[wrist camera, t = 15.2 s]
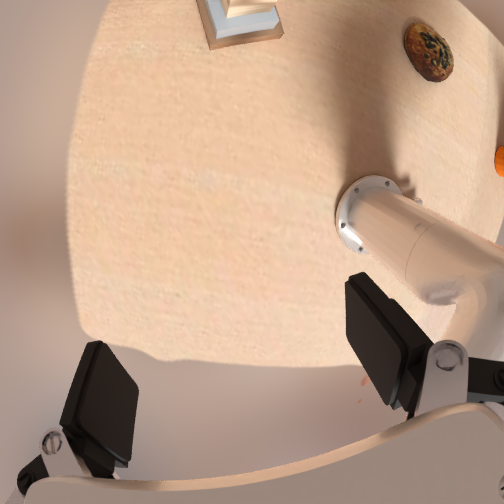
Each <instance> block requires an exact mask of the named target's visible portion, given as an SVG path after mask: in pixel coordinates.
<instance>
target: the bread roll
mask: <svg viewBox="0 0 504 504" xmlns="http://www.w3.org/2000/svg"><path fill="white" fill-rule="evenodd" d="M404 42H405V48H406V52H407V54H408V57H409V59H410V61H411V62H412V64H413V65H414V67H415V69H416V70H417V71H418V72H419V73H420V74H421V75H422V76H423V77H424V78H425V79H427V81H432V82H441V81H444V80H445V79H447V78H448V76H449V75H450V74H451V73H452V72H453V66H454V64H453V62H454V61H453V55H452V52H451V50H450V47H449V45H448V44H447V42H446V41H445V39H444V38H442V37H441V36H440V35H439V34H438V33H436V32H435V31H434V30H433V29H432V28H430V27H428V26H426V25H424V24H422V23H416V24H411V26H410V27H409V28H408V30H407V32H406V35H405V40H404Z"/></svg>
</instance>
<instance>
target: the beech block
mask: <svg viewBox="0 0 504 504" xmlns="http://www.w3.org/2000/svg"><path fill="white" fill-rule="evenodd" d="M220 1H221V4H222V7H223V10H224V13H225V16H226V18H231V17H237V16H242V15H249V14H256V13H263V12H271V10H272V8H273V7H274V5H275V4H276V2H277V1H278V0H220Z"/></svg>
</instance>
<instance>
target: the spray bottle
mask: <svg viewBox="0 0 504 504" xmlns="http://www.w3.org/2000/svg"><path fill="white" fill-rule="evenodd" d="M495 168H496V171H497V173H498V174H499V175H500V176H503V177H504V146H500V147H499V148H498V150H497V152H496V156H495Z"/></svg>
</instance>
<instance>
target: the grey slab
mask: <svg viewBox="0 0 504 504" xmlns="http://www.w3.org/2000/svg"><path fill="white" fill-rule="evenodd" d="M204 2H205V5H206V8H207V11H208V14H209V17H210V21H211V24H212V27H213V30H214V33H215V36H216V39H219V38H223V37H227V36H232V35H237V34H242V33H248V32H253V31H260V30H266V29H274V27H275V26H276V24H277V23H278V22H279V18H278V15H277V12H276V10H275V7H273V8H272V10H271V12H263V13H256V14H249V15H242V16H237V17H231V18H226V16H225V13H224V10H223V7H222V4H221V1H220V0H204Z"/></svg>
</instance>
